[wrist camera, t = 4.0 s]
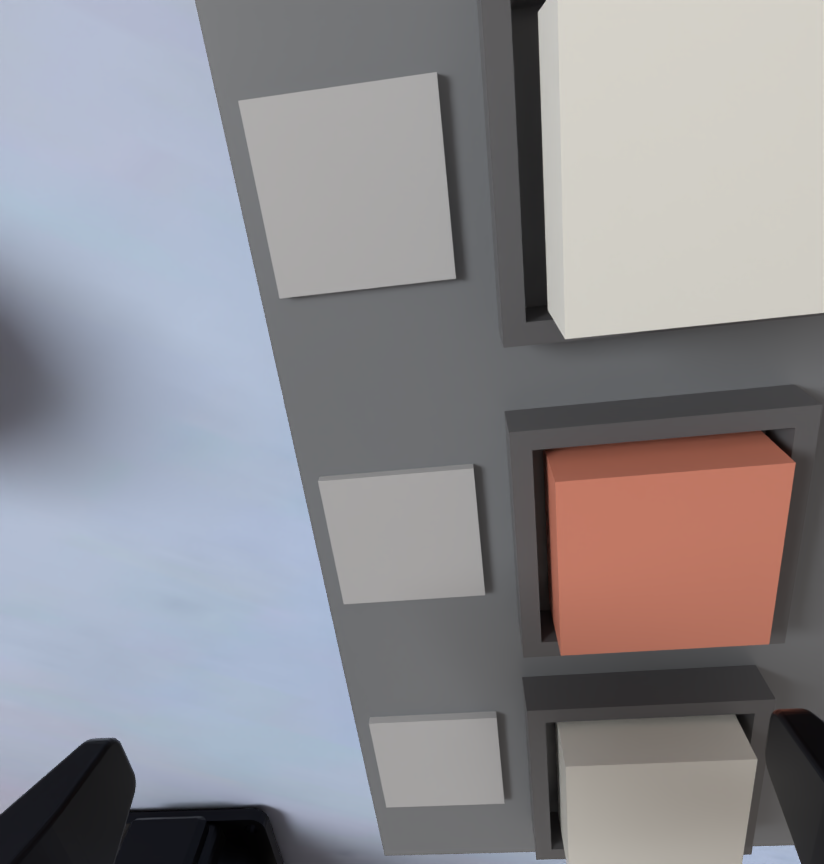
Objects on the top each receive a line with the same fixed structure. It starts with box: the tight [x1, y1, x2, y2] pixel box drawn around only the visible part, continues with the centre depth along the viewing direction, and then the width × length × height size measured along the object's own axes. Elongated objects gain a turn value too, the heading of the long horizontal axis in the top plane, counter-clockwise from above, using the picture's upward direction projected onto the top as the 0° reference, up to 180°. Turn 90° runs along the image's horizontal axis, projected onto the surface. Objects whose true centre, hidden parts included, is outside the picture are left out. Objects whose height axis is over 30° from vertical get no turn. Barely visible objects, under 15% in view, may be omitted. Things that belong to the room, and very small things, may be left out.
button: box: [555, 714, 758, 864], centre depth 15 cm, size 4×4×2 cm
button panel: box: [195, 0, 824, 860], centre depth 14 cm, size 22×12×4 cm, turn 7°
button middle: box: [543, 431, 796, 656], centre depth 12 cm, size 4×4×2 cm
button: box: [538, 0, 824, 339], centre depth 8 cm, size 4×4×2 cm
